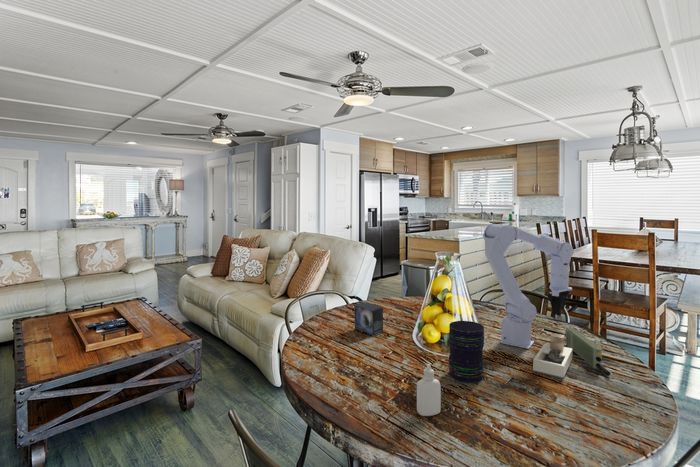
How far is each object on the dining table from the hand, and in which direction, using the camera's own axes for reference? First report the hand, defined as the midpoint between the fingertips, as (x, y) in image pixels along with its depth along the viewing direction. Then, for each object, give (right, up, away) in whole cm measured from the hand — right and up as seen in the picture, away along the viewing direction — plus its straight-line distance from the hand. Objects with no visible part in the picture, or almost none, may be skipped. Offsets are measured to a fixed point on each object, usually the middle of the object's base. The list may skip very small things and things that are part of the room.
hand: (558, 311), depth 137 cm
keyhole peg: (-10, -12, -17) cm, 23 cm away
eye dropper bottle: (-56, -16, -45) cm, 74 cm away
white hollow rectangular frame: (-12, -12, -20) cm, 26 cm away
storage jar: (-41, -14, -26) cm, 51 cm away
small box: (-68, -11, +13) cm, 70 cm away
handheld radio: (0, -12, -16) cm, 20 cm away
